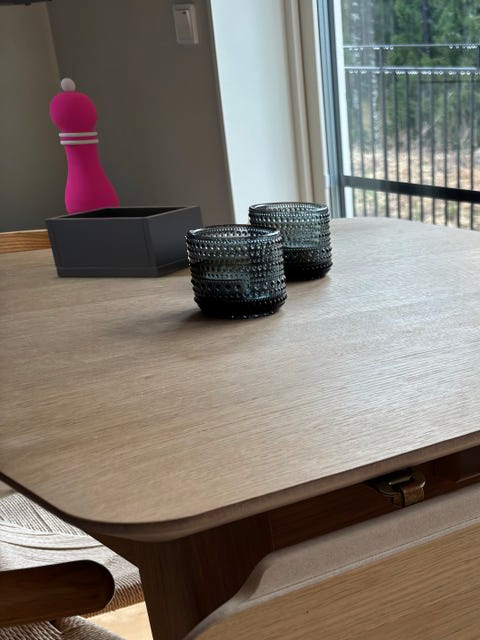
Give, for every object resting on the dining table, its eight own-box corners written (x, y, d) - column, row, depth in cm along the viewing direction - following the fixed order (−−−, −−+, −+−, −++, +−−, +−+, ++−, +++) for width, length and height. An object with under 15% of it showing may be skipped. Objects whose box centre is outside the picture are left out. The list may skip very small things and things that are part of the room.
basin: (57, 276, 110) (44, 219, 107) (116, 260, 120) (105, 207, 117) (158, 277, 107) (147, 218, 104) (208, 259, 118) (200, 205, 115)
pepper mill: (62, 241, 139) (25, 79, 129) (94, 234, 145) (62, 79, 135) (104, 241, 137) (70, 77, 127) (136, 234, 143) (106, 77, 133)
